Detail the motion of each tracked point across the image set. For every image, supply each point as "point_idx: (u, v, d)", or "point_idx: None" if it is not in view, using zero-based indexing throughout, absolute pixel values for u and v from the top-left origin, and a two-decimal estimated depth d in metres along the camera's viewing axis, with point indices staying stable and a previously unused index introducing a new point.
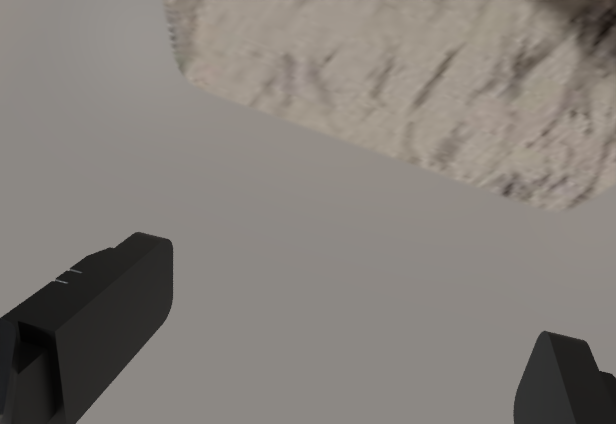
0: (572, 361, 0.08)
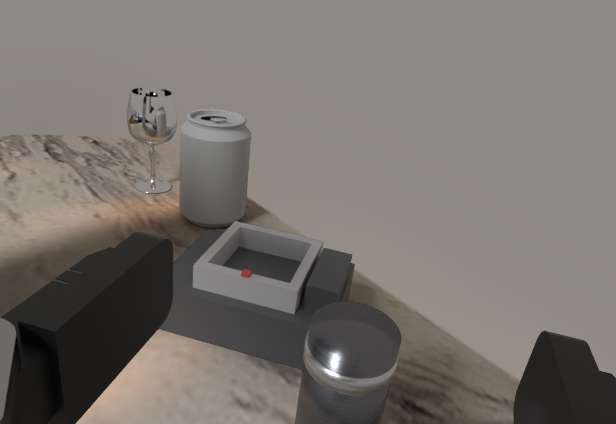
0: (572, 361, 0.08)
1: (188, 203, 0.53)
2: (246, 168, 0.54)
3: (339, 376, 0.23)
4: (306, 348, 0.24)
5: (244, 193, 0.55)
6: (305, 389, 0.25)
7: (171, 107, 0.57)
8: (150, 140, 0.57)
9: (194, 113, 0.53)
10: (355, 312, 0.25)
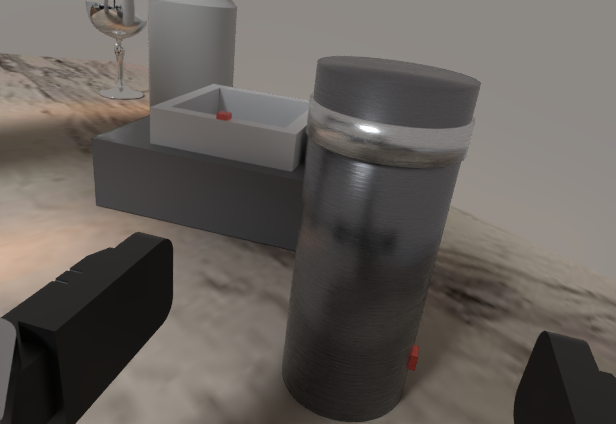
0: (572, 361, 0.08)
1: (159, 93, 0.43)
2: (231, 51, 0.43)
3: (375, 123, 0.12)
4: (311, 103, 0.14)
5: (229, 85, 0.45)
6: (310, 184, 0.14)
7: None
8: (114, 27, 0.47)
9: None
10: (393, 63, 0.15)
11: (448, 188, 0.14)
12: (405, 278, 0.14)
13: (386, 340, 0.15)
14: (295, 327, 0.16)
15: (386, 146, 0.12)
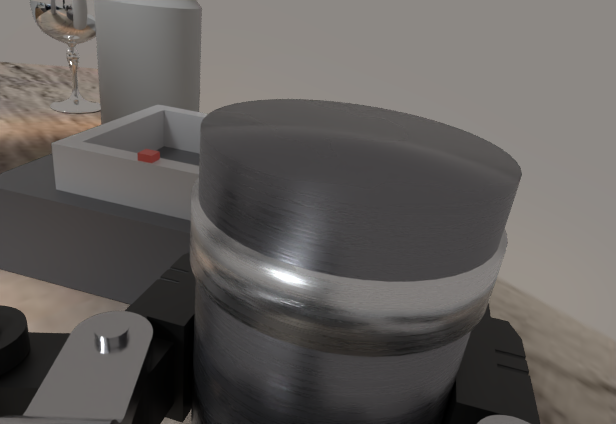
0: None
1: (109, 110, 0.36)
2: (195, 60, 0.37)
3: (296, 269, 0.06)
4: (192, 199, 0.07)
5: (193, 100, 0.38)
6: (197, 344, 0.08)
7: None
8: (62, 30, 0.40)
9: None
10: (358, 115, 0.08)
11: (453, 367, 0.07)
12: None
13: None
14: None
15: (322, 317, 0.06)
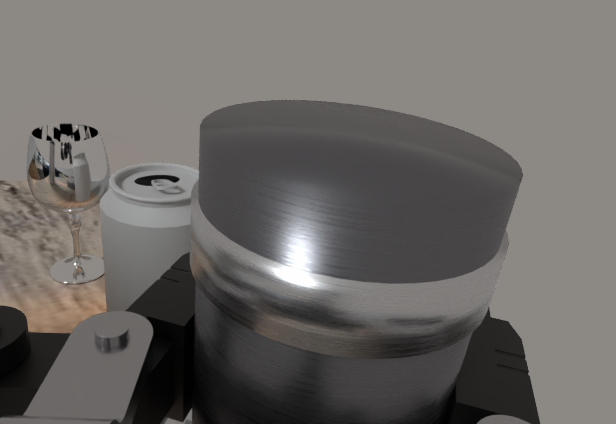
0: None
1: None
2: None
3: (296, 271, 0.06)
4: None
5: None
6: (197, 345, 0.08)
7: (96, 156, 0.37)
8: (63, 208, 0.36)
9: (125, 172, 0.32)
10: (358, 115, 0.08)
11: (455, 368, 0.07)
12: None
13: None
14: None
15: (322, 319, 0.06)
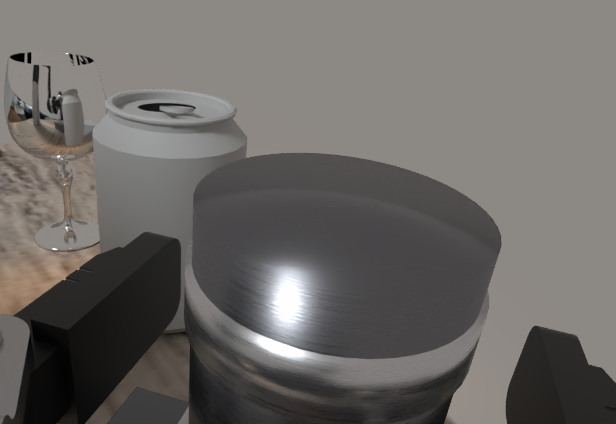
0: (562, 355, 0.09)
1: None
2: None
3: (283, 348, 0.06)
4: (185, 264, 0.07)
5: None
6: (192, 398, 0.08)
7: (91, 88, 0.29)
8: (49, 152, 0.29)
9: (126, 96, 0.25)
10: (347, 171, 0.09)
11: None
12: None
13: None
14: None
15: (308, 391, 0.06)
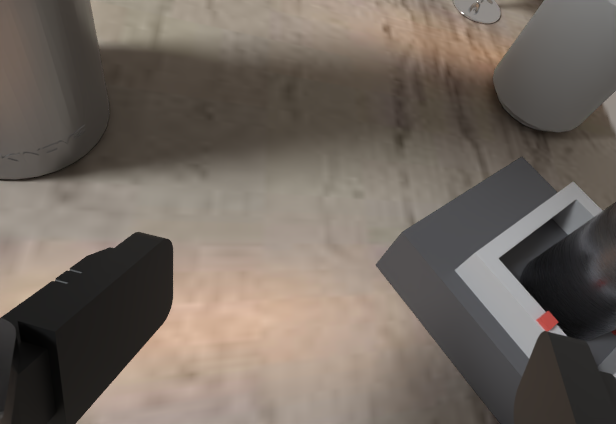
0: (572, 361, 0.08)
1: (512, 76, 0.34)
2: None
3: None
4: None
5: (602, 101, 0.34)
6: None
7: None
8: None
9: None
10: None
11: None
12: None
13: (610, 315, 0.20)
14: (554, 262, 0.22)
15: None
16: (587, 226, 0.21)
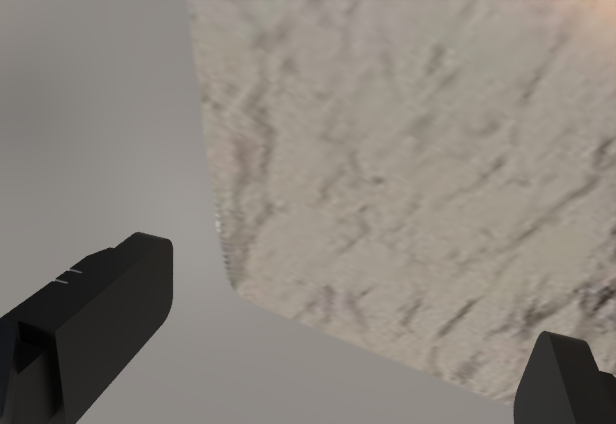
0: (572, 361, 0.08)
1: None
2: None
3: None
4: None
5: None
6: None
7: None
8: None
9: None
10: None
11: None
12: None
13: None
14: None
15: None
16: None
